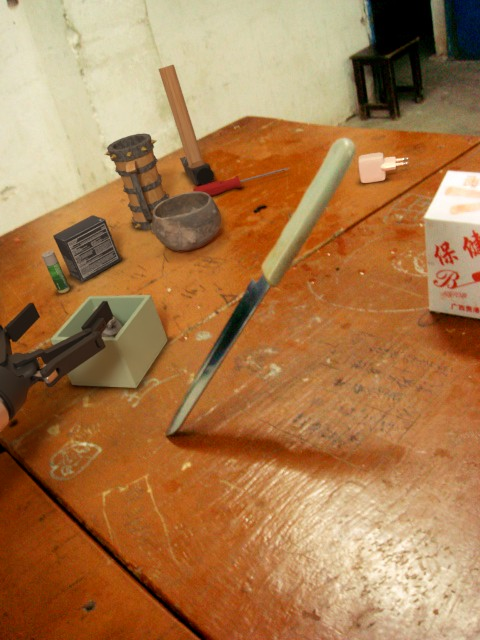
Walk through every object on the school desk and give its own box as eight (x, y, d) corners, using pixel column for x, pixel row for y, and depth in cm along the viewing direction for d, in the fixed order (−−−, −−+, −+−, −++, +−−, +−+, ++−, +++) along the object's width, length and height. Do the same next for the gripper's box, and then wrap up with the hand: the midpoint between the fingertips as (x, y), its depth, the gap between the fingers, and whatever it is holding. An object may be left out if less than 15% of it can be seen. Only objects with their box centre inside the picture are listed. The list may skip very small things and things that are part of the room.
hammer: (186, 178, 185) (152, 71, 173) (202, 173, 185) (169, 65, 174) (198, 187, 166) (161, 67, 155) (216, 180, 167) (180, 61, 156)
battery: (72, 287, 138) (55, 249, 133) (64, 294, 136) (46, 256, 131) (64, 286, 139) (47, 248, 134) (55, 293, 138) (38, 254, 133)
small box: (108, 254, 148) (92, 213, 143) (122, 260, 143) (106, 218, 138) (69, 275, 143) (51, 234, 138) (82, 283, 139) (64, 240, 133)
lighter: (103, 355, 112) (82, 308, 106) (119, 346, 113) (100, 299, 108) (124, 373, 106) (103, 324, 100) (141, 363, 107) (121, 314, 102)
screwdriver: (292, 176, 161) (289, 163, 159) (196, 202, 162) (193, 190, 160) (289, 172, 164) (287, 159, 162) (195, 197, 165) (192, 185, 163)
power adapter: (409, 170, 148) (407, 146, 145) (410, 178, 144) (408, 154, 141) (361, 177, 151) (358, 153, 148) (360, 185, 147) (357, 161, 144)
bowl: (149, 254, 143) (135, 214, 137) (198, 223, 151) (187, 184, 145) (189, 266, 133) (176, 223, 128) (240, 232, 141) (229, 191, 136)
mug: (179, 203, 164) (156, 127, 153) (180, 231, 150) (154, 149, 139) (131, 215, 165) (104, 141, 154) (127, 244, 150) (97, 164, 140)
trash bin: (72, 385, 107) (49, 339, 102) (107, 339, 117) (88, 295, 112) (136, 387, 103) (116, 340, 97) (167, 340, 112) (151, 294, 107)
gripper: (-72, 420, 88) (16, 329, 104) (77, 431, 79) (149, 328, 95) (-100, 378, 84) (-4, 290, 100) (53, 384, 75) (133, 286, 91)
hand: (70, 309), depth 97 cm, fingers open, 13 cm apart
